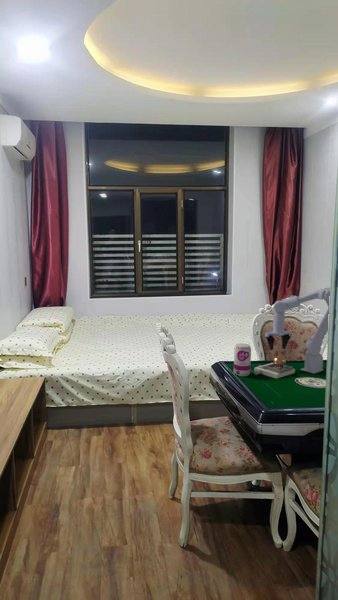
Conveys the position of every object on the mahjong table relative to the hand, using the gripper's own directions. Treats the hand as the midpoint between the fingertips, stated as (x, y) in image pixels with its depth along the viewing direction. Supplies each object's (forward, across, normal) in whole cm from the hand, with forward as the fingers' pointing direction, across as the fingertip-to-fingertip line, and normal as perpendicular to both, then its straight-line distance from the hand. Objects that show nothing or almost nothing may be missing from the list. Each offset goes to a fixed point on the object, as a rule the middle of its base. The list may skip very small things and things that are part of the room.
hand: (277, 349), depth 223 cm
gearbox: (+10, -7, -6) cm, 14 cm away
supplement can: (+11, -23, -4) cm, 25 cm away
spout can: (+8, -4, -8) cm, 12 cm away
